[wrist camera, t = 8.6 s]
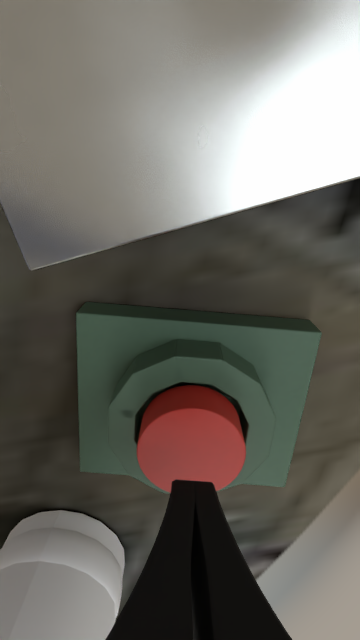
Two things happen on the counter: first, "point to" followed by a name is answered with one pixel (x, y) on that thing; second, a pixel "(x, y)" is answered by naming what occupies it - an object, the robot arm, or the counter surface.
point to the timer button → (191, 438)
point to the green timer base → (191, 380)
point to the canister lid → (168, 114)
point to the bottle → (60, 578)
